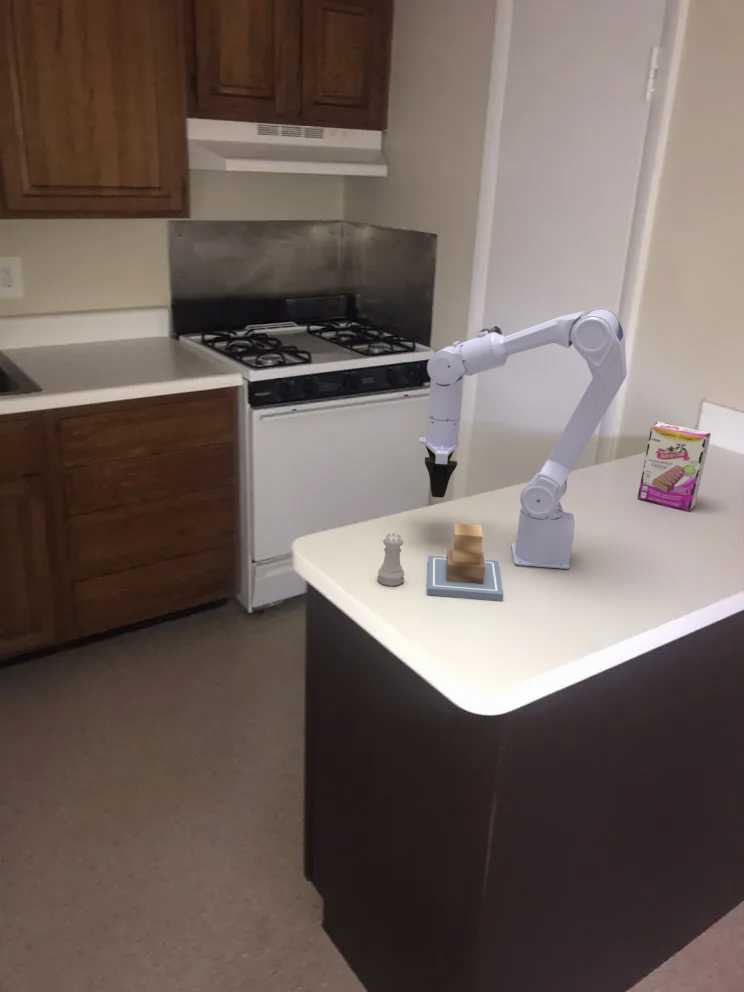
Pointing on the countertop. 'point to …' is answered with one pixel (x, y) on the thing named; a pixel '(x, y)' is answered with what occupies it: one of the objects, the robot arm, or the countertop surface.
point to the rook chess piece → (391, 562)
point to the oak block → (467, 544)
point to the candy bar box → (673, 465)
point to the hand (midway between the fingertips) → (437, 488)
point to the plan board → (467, 585)
